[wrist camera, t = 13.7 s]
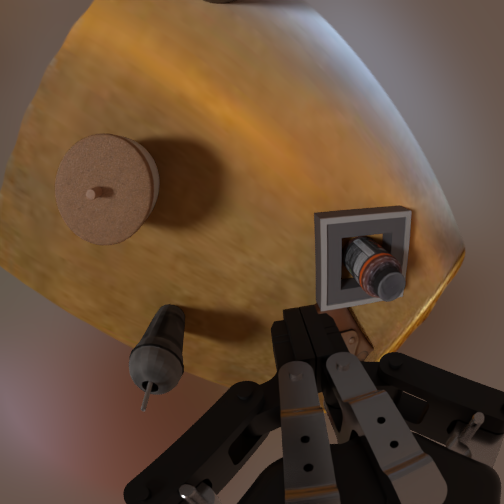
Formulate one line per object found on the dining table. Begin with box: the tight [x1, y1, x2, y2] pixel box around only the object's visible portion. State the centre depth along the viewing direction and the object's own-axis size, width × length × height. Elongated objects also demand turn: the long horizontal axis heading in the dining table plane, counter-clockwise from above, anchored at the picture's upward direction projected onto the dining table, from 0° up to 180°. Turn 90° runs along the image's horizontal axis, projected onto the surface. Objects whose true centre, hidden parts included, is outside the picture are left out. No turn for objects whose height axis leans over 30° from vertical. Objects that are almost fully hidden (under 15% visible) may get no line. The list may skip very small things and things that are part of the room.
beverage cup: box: [129, 304, 185, 411], centre depth 35 cm, size 7×7×20 cm
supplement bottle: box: [342, 236, 405, 301], centre depth 37 cm, size 6×6×11 cm
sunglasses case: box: [314, 303, 374, 361], centre depth 47 cm, size 18×7×7 cm
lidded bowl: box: [55, 134, 160, 245], centre depth 31 cm, size 13×13×11 cm
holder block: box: [314, 206, 411, 311], centre depth 41 cm, size 14×14×3 cm
